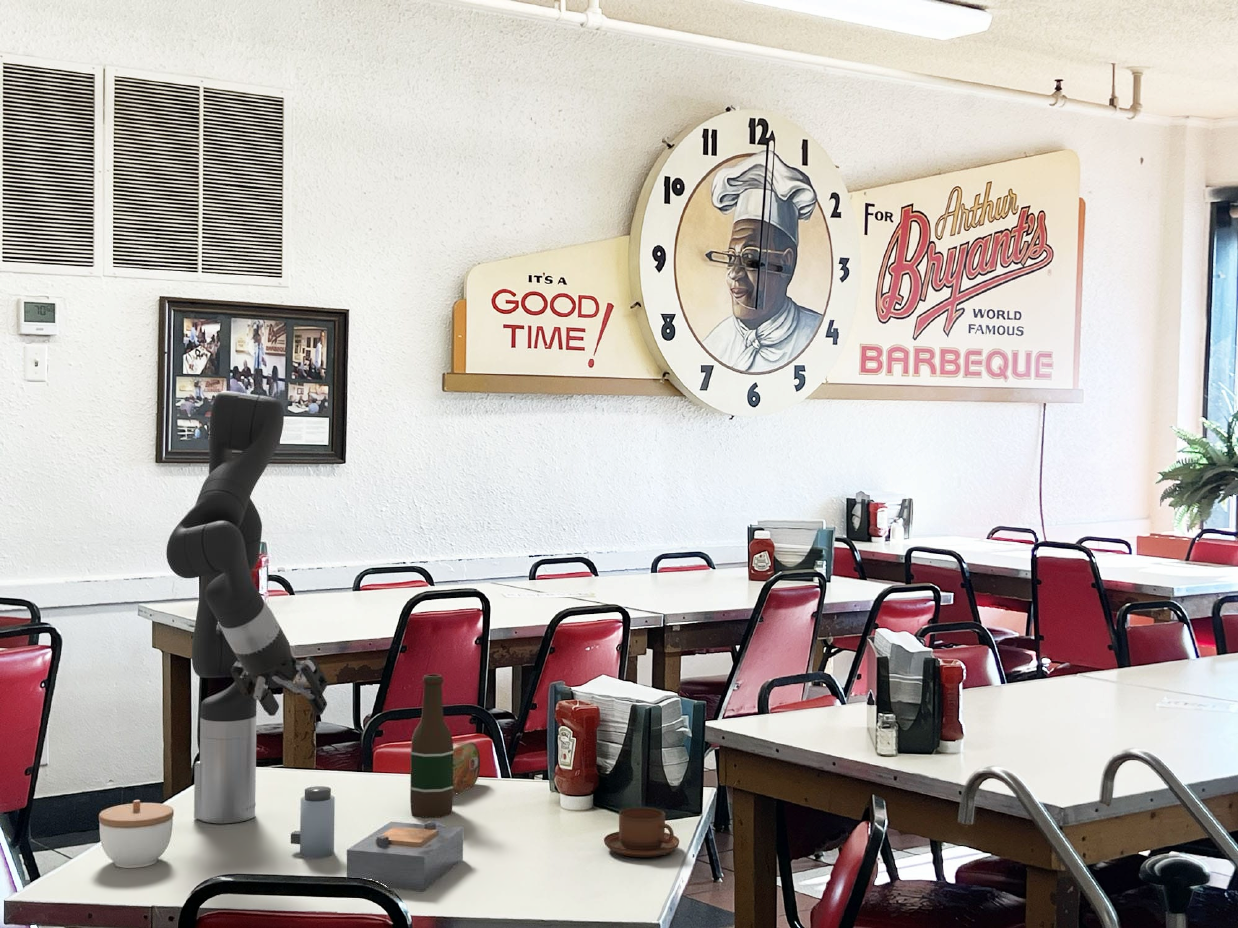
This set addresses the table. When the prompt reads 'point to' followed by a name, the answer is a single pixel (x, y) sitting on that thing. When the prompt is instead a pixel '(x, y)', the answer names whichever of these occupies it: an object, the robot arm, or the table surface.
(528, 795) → the table surface
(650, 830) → the cup and saucer
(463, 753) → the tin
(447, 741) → the beer bottle
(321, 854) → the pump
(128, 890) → the table surface
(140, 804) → the lidded jar
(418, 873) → the grey block with pad
